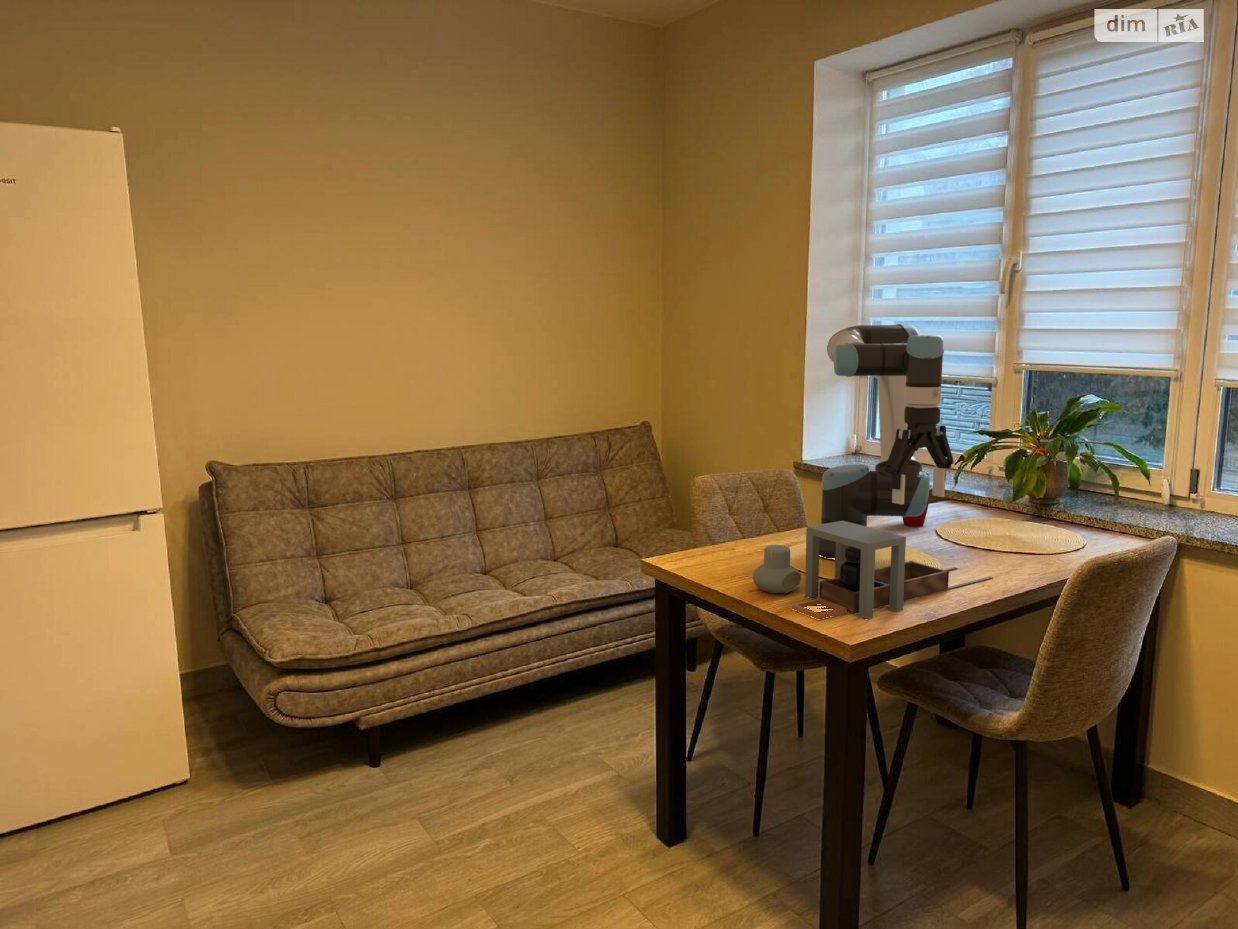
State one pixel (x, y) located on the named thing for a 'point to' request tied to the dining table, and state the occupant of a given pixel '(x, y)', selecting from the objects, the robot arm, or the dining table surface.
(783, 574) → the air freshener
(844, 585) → the supplement bottle
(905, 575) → the divided wooden tray
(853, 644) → the dining table surface
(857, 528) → the tunnel
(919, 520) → the plastic cup
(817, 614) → the frame
